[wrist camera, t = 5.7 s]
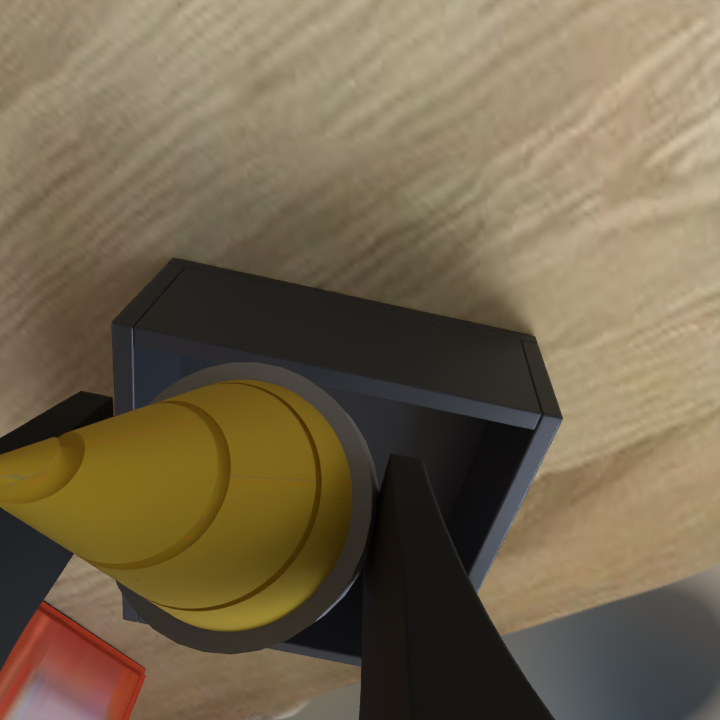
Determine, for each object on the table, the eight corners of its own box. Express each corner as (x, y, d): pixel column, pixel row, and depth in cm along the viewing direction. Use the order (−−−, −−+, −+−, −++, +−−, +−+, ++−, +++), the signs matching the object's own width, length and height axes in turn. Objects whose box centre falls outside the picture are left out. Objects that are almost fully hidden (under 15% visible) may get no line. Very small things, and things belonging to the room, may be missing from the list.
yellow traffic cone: (150, 483, 15) (-354, 426, 6) (311, 358, 16) (75, 103, 6) (261, 667, 14) (-191, 1006, 4) (439, 525, 14) (394, 539, 4)
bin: (166, 528, 26) (122, 620, 22) (172, 256, 19) (110, 321, 15) (432, 583, 26) (434, 682, 23) (536, 335, 19) (564, 418, 15)
